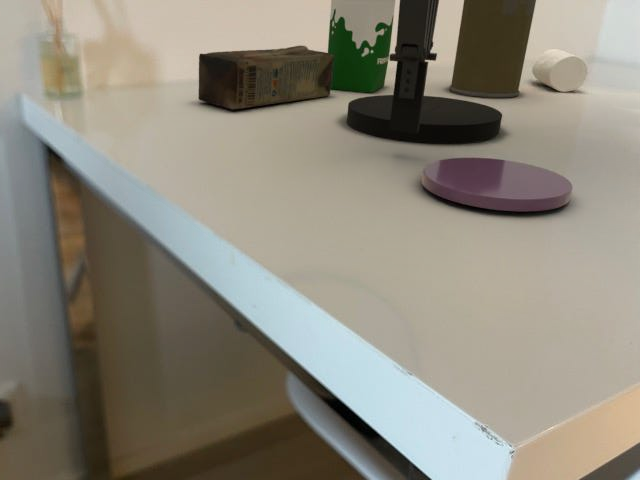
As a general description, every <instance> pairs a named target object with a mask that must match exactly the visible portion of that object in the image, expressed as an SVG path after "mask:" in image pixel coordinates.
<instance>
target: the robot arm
mask: <svg viewBox="0 0 640 480" xmlns="http://www.w3.org/2000/svg"><path fill="white" fill-rule="evenodd" d="M439 3H440V0H399V7H398V18H397V19H398V20H397V32H396V42H395V43H396V44H395V47H394V53H393V52H392V53H389V61H390V62H396V69H395V78H394V86H393V93H392V95H393V102H392V111H391V119H390V127H389V131H395V132H405V133H415V134H417V133H418V131H419V126H420V119H421V112H422V104H423V97H424V96H425V90H426V83H427V75H428V68H429V67H428V66H429V61H437V57H438V53H437V52H432V49H433V47H434V41H433V40H434V35H435V29H436V22H437V16H438V10H439V9H438V8H439Z"/></svg>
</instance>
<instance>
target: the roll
mask: <svg viewBox="0 0 640 480" xmlns="http://www.w3.org/2000/svg"><path fill="white" fill-rule="evenodd" d="M531 68H532V70H531V73H532V75H533V76H534V78H535V79H536V80H537V81H539V82H540V83H542V84H543V85H545V86H548V87H550V88H552V89H554V90H556V91H558V92H561V93H568V92H572V91H575V90H577V89H579V88H580V87H582V86H583V85H584V83H585V82H586V80H587V77H588V74H589V72H588V66H587V64H586V62H585V61H584V60H583V58H581V57H580V56H576V55H574V54H572V53H570V52H567V51H565V50H563V49H562V50H561V49H558V48H557V49H556V48H554V49H546V50H545V51H544V52H542V53H541V54H540V55H539V56H538V57H537V58H536V59H535V60H534V63H533V65H532V67H531Z"/></svg>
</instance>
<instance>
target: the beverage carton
mask: <svg viewBox="0 0 640 480" xmlns="http://www.w3.org/2000/svg"><path fill="white" fill-rule="evenodd" d="M333 62H334V55H333V54H330V53H328V52H326V51H321V50H320V51H318V50H313V49H309V48H308V46H306V45H294V46H290V47H286V48H285V47H280V48H271V49H248V50H232V51H228V50H227V51H214V52H207V53H199V55H198V100H199V101H202V102H204V103H208V104H211V105H214V106H215V105H216V106H218V107H222V108H226V109H229V110H232V111H233V110H241V109H247V108H254V107H263V106H266V105H267V106H269V105H275V104H282V103H288V102H289V103H290V102H295V101H302V100H309V99H316V98H323V97H324V98H325V97H329V96H330V95H331V90H332V89H331V85H332V77H333Z"/></svg>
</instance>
